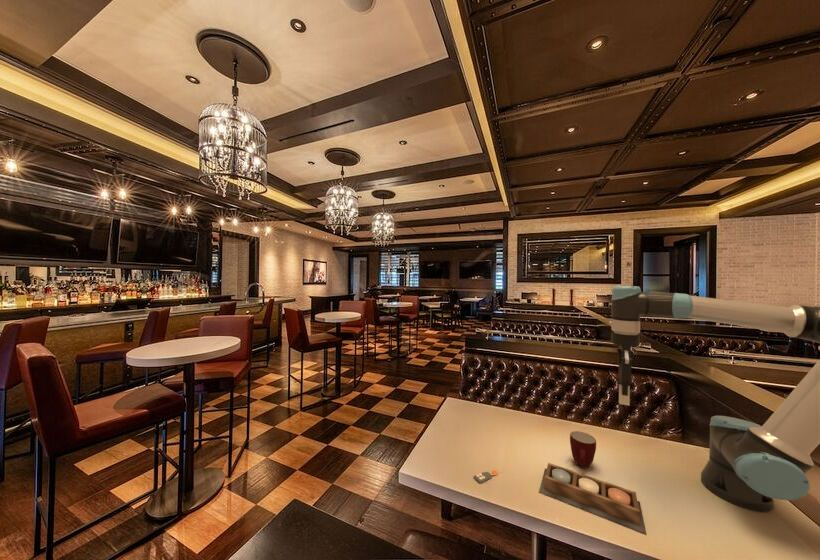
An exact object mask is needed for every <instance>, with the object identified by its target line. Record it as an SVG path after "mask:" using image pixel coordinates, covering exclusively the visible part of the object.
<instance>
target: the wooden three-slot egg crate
mask: <svg viewBox="0 0 820 560" xmlns="http://www.w3.org/2000/svg"><path fill="white" fill-rule="evenodd" d="M553 469H562V470H564V471H566V472H567V473H568V474H569V475H570V484H568V483H565V482H562V481H559V480H557V479H554V478H552V470H553ZM542 475H543V476H542V478H541V483H540V487H539V489H538V493H540V494H542V495H545V496H547V497H550V498H552V499H555V500H557V501H560V502H561V503H564V504H567V505H570V506H572V507H574V508H577V509H579V510H582V511H584V512H586V513H590V514H592V515H594V516H597V517H599V518H602V519H604V520H607V521H610V522H613V523H615V524H618V525H620V526H623V527H625V528H626V529H627V528H628V529H630V530H632V531H635V532H638V533H640V534H643V535H645V536H647V531H646V526H645V521H644V515H643V510H642V506H641V501H640V500H638V498H637V497H638V496H637V492H636V491H633V490H631V489H627V488H624V487H622V486H618V485H616V484H613V483H609V482H607V481H603V480H601V479H597V478H595V477H592V476H588V475H585V474H583V473H580V472H577V471H574V470H571V469H568V468H565V467H562V466H560V465H556V464H553V463H550V462H548V463H547V467H546V468H544V471H543V474H542ZM580 478H588V479H591V480H593V481H594V482H596V483H597V484H598V486H599V495H598V494H595V493H592V492H590V491H587V490H584V489H581V488H579V479H580ZM609 488H617V489H620V490H622V491H624V492H625V493H627V494H628V495H629V497H630V506H628V505H625V504H623V503H620V502H617V501H614V500H612V499H609V498H608V489H609Z"/></svg>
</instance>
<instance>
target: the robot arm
mask: <svg viewBox="0 0 820 560" xmlns="http://www.w3.org/2000/svg"><path fill="white" fill-rule="evenodd" d="M641 316H643V317H656V318H657V317H659V318H660V317H661V318H671V319H672V318H674V319H693V320H694V319H695V320H700V321H705V322H706V321H707V322H713V323H720V324H726V325H732V326H738V327H745V328H752V329H759V330H766V331H771V332H779V333H784V335H786V337H789V338H795V339H802V340H806V341H809V342H814V343H818V344H819V345H818V347H817V348H818V350H819V351H820V306H809V305H802V304H799V305H798V304H794V305H790V306H788V307H787V306H780V305H779V306H778V305H773V304H763V303H754V302H746V301H745V302H744V301H740V300H739V301H737V300H729V299H720V298H715V297H714V298H713V297H705V296H696V295H691V294H690V295H689V294H687V293H678V292H664V291H662V292H661V291H658V290H651V291H647V292H643V291H642V290H641V287H640V286H639V285H638V286H635V285H616V286H614V287H612V291H611V321H609V323H608V324H609V325H611V331H612V332H610V335H611V336H610V342H611V343H612V344H613V345H616V346H619V348H616V353H617V361H618V376H617V377H618V381H617V383H616V385H618V404H620V405H623V406H624V405H625V406H630V403H631V401H630V399H631V398H630V395H631V389H630V388H631V386H632V367H633V366H632V365H633V360H634V359H633V358H634V351H633V350H632V349H631V347H633V348H634V347H635V348H637V347H639V346H640V344H641V343H640V341H641V340H640V339H641V335H639V334H640V333H641ZM819 445H820V359H819V360H818V361H817V362H816V363H815V364H814V366H813V367H812V368H811V369H810V370H809V371H808V372H807V374H805V376H804V377H803V378H802V379H801V380H800V382H799V383H798V384H797V385H796V386H795V388H794V389H792V391H791V392H790V393H789V395H787V397H786V398H785V399H784V400H783V401H782V403H781V404H780V405H779V406H778V407H777V408H776V410H775V411H774V412H773V413H772V414H771V415H770V417H768V419H767V420H766V421H765V422H764V424H763V425H760V424H757V423H755V422H752V421H750V420H749V421H748V420H746V419H741V418H736V417H732V416H727V415H726V416H725V415H714V416H711V417H710V422H709V453H708V455H709V456H708V457H709V458H708V460H707V462H706V464H705V466H704V468H703V469H702V470H701V474H700V481H701V483H702V485H703V486H704V487H705V488H706V489H707V490H709V491H710V492H711V493H712V494H714V495H715V496H717V497H719V498H721V499H722V500H725V501H727V502H728V503H732V504H733V505H736V506H738V507H741V508H744V509H747V510H751V511H756V512H762V513H763V512H764V513H765V512H766V513H768V512H769V513H770V512H772V511H773V510H774V507H775V500H778V501H779V500H781V501H782V500H784V501H796V500H800V499H801V498H803V497H805V496H806V495H808V494H809V491H810V488H811V487H810V482H809V479H808V477H807V473H808V472H809V471H810V470H811V469H813V467H814V465H815V464H814V461H813V460H812V457H811V453H813V451H814V450H815V449H816V448H817V447H818V446H819Z"/></svg>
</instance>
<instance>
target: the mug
mask: <svg viewBox="0 0 820 560" xmlns="http://www.w3.org/2000/svg"><path fill="white" fill-rule="evenodd" d="M569 443H570V444H569V445H570V450H571V456H572V457H573V460H574V462H575V464H576V465H577V466H578V467H580V468H582V469H588V468H589V467H591V465H592V464H593V461H594V458H595V454H596V450H597V440H596V438H595V437H594V436H592V434H589V433H587V432H583V431H578V430H576V431H575V430H573V431H571V432H570V433H569Z"/></svg>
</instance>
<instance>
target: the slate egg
mask: <svg viewBox="0 0 820 560" xmlns="http://www.w3.org/2000/svg"><path fill="white" fill-rule="evenodd" d="M552 478H554V479H557V480H559V481H562V482H565V483H568V484H570V475H569V474H568V473H567V472H566V471H564V470H562V469H553V470H552Z"/></svg>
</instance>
